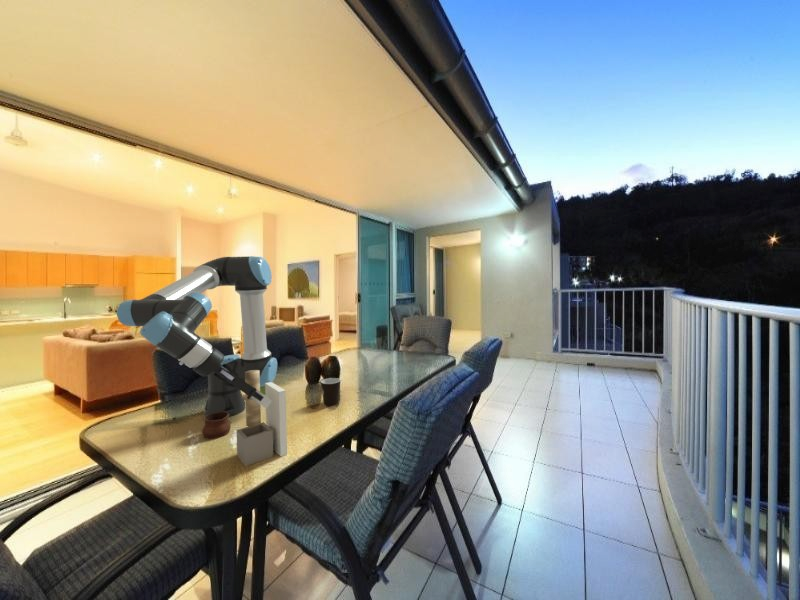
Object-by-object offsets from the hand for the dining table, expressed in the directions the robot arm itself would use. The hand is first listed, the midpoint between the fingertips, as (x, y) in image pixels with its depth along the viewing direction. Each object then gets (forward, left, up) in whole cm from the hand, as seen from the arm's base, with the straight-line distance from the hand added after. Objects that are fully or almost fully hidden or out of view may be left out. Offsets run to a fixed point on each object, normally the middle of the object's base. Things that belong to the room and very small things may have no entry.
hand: (266, 402), depth 96 cm
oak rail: (-3, -3, -6) cm, 7 cm away
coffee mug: (+7, +44, -16) cm, 47 cm away
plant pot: (-30, +54, -16) cm, 63 cm away
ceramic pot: (-25, +11, -16) cm, 32 cm away
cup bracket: (-1, -1, -16) cm, 16 cm away
